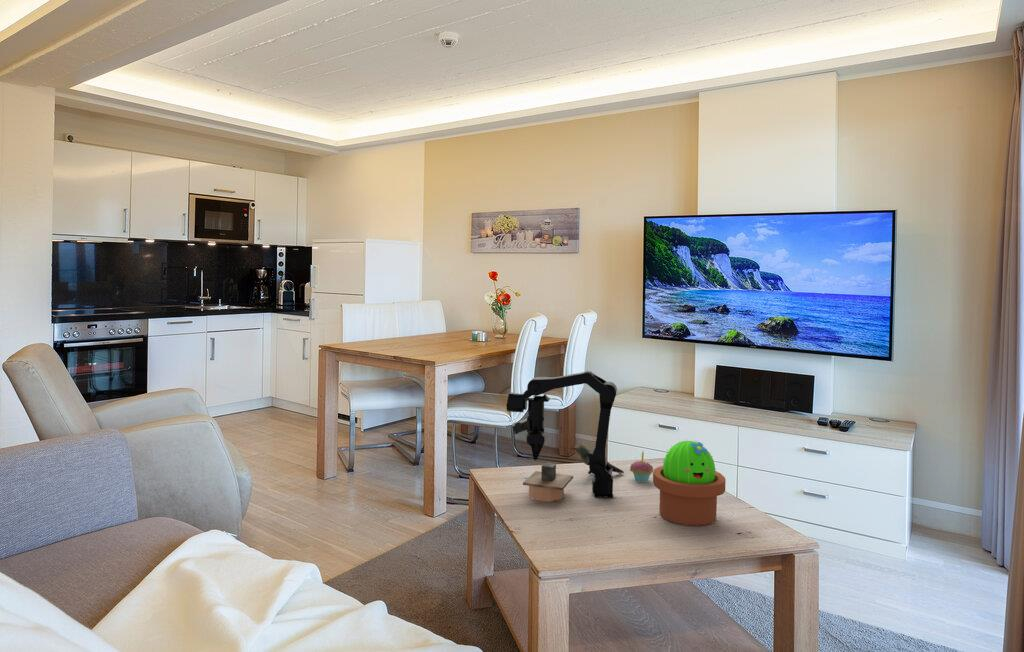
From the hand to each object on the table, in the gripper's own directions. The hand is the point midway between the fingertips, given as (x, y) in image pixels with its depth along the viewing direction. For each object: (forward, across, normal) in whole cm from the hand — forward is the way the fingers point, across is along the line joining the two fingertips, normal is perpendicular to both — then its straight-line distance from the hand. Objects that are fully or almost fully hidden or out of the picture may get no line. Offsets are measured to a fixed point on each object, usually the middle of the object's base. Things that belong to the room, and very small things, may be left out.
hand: (535, 456), depth 224 cm
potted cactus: (+12, +22, +49) cm, 55 cm away
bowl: (+12, +6, +4) cm, 14 cm away
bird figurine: (+12, -18, +24) cm, 32 cm away
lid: (+7, +6, +5) cm, 10 cm away
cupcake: (+12, -13, +40) cm, 44 cm away
